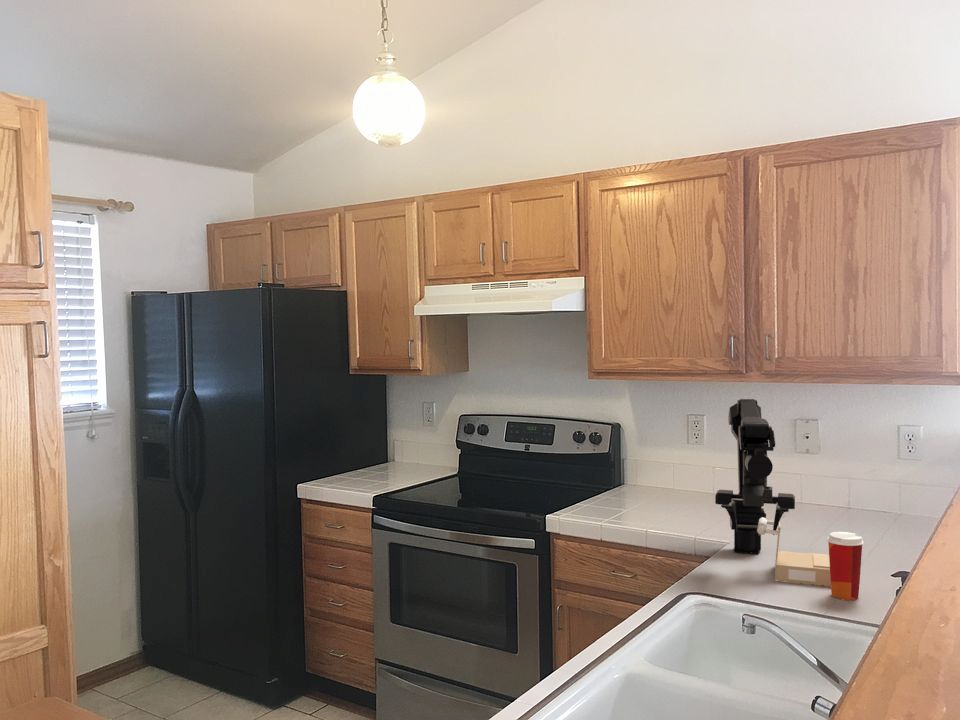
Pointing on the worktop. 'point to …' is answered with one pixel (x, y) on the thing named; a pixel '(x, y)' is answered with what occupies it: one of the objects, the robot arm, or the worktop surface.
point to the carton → (803, 568)
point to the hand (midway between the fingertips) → (754, 533)
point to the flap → (763, 530)
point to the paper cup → (845, 564)
